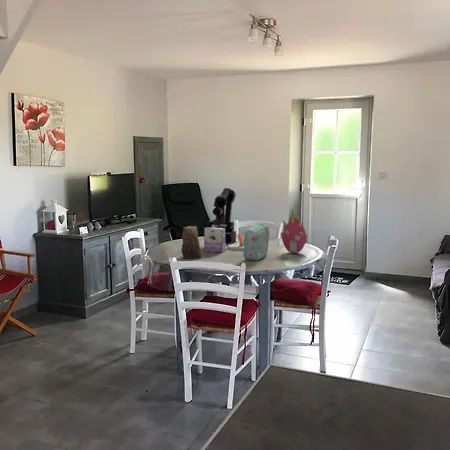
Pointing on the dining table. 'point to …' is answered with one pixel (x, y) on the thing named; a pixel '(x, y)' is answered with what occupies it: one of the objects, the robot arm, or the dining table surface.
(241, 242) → the block
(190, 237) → the owl
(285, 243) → the pink dragon fruit
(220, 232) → the candy box
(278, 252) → the dining table surface
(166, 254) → the dining table surface
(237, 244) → the panel
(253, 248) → the lunch box
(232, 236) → the far post
